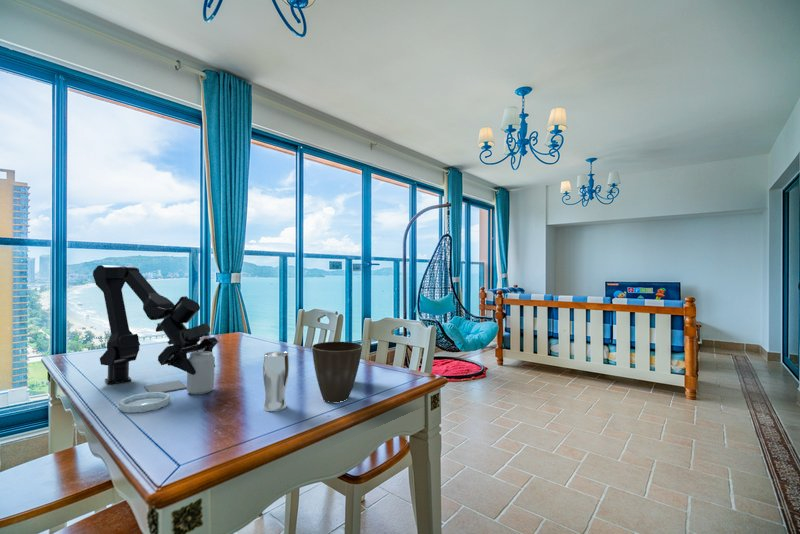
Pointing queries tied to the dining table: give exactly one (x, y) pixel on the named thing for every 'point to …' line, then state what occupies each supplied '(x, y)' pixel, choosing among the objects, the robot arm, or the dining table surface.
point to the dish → (144, 402)
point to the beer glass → (275, 380)
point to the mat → (165, 386)
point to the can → (201, 373)
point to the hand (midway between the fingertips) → (204, 370)
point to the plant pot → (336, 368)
